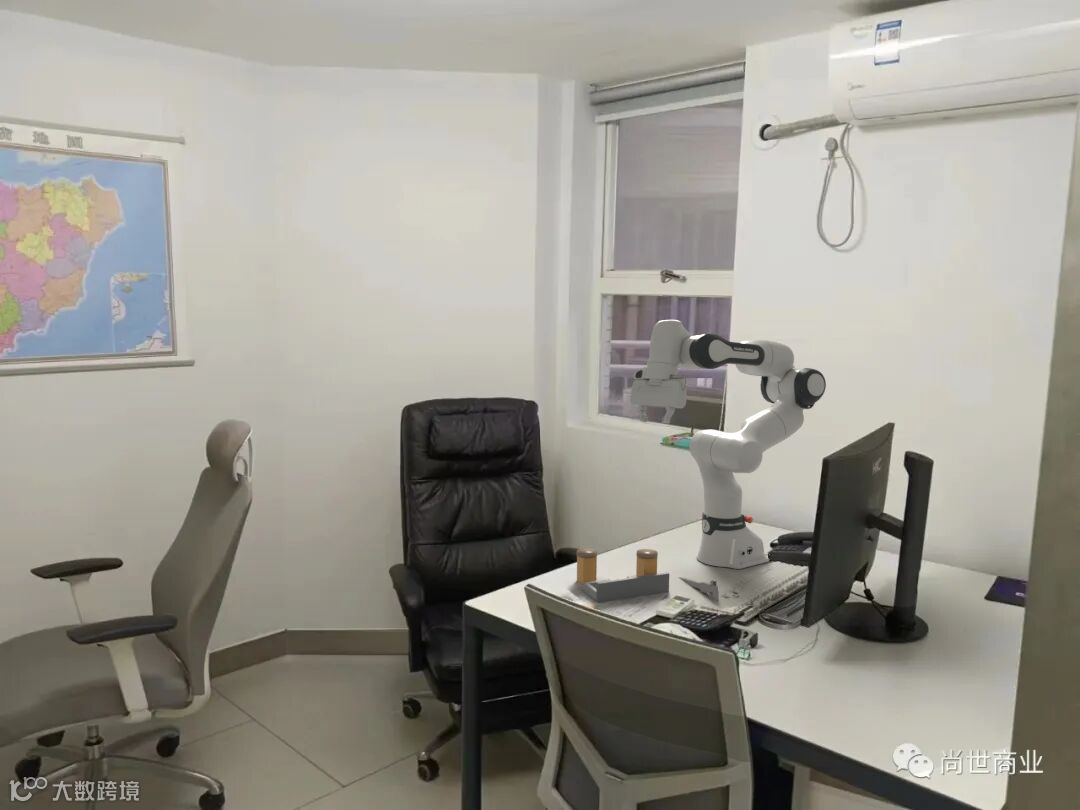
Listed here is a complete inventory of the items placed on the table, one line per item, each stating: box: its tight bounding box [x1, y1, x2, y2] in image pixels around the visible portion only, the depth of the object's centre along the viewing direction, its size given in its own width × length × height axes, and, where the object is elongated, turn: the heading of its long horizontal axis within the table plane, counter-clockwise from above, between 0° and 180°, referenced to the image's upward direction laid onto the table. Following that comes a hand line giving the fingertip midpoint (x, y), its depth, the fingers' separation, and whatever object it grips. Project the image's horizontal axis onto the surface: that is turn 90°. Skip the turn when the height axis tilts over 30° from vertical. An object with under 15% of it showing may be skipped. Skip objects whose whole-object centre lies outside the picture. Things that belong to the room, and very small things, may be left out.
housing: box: [581, 571, 670, 604], centre depth 214 cm, size 21×10×6 cm, turn 112°
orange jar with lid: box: [635, 548, 659, 577], centre depth 216 cm, size 6×6×10 cm
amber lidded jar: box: [576, 547, 598, 586], centre depth 220 cm, size 6×6×10 cm
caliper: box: [678, 576, 720, 602], centre depth 216 cm, size 20×1×6 cm, turn 20°
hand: (654, 422), depth 230 cm, fingers open, 8 cm apart
